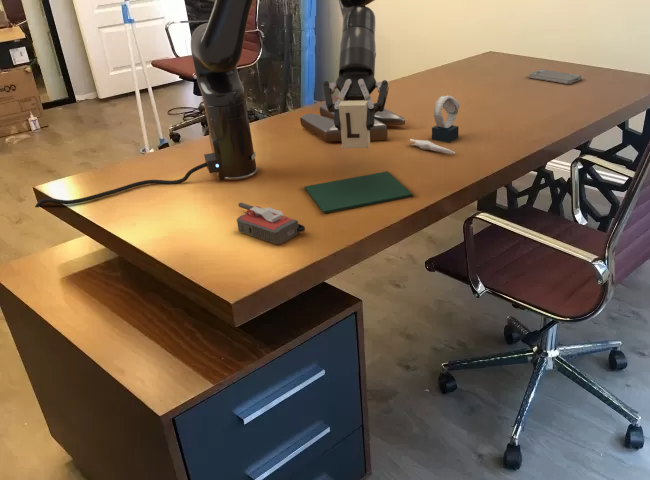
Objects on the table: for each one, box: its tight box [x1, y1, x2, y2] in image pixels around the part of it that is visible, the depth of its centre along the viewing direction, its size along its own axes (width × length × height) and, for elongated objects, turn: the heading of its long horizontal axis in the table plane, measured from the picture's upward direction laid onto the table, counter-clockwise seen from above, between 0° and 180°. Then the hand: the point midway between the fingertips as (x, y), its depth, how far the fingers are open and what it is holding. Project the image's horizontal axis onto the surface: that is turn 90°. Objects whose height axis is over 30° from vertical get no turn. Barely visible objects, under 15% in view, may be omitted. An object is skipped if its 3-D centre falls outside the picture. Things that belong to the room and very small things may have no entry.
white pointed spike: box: [409, 138, 456, 155], centre depth 164 cm, size 15×3×2 cm, turn 47°
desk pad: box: [304, 171, 414, 215], centre depth 144 cm, size 20×15×1 cm
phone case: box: [528, 69, 582, 85], centre depth 221 cm, size 8×16×1 cm, turn 47°
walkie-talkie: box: [236, 202, 306, 245], centre depth 129 cm, size 9×4×20 cm
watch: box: [431, 95, 461, 143], centre depth 170 cm, size 6×8×11 cm
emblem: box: [299, 100, 406, 142], centre depth 181 cm, size 28×5×28 cm
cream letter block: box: [339, 100, 371, 149], centre depth 136 cm, size 6×4×9 cm
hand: (353, 128), depth 135 cm, fingers closed on cream letter block, 5 cm apart
